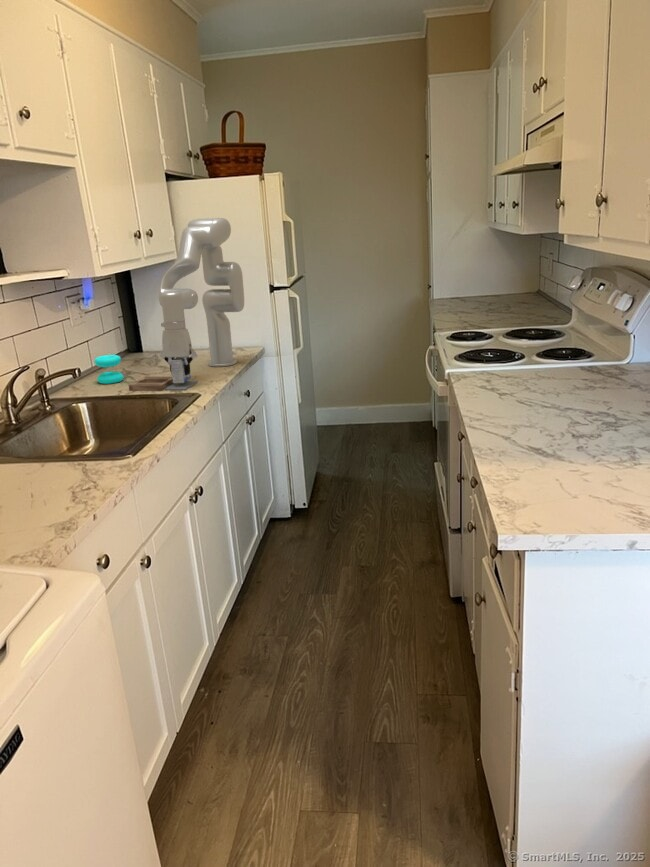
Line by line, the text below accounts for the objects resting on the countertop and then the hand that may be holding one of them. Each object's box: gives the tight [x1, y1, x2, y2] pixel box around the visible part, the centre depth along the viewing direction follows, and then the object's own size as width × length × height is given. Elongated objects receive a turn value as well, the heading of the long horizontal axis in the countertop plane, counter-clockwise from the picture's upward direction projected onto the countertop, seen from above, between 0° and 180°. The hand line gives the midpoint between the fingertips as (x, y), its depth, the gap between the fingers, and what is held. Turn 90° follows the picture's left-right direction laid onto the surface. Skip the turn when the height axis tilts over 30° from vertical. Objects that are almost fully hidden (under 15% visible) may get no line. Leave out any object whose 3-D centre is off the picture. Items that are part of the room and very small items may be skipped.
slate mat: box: [164, 380, 199, 391], centre depth 245 cm, size 12×8×1 cm, turn 168°
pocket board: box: [128, 375, 174, 392], centre depth 247 cm, size 14×13×2 cm
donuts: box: [93, 354, 125, 385], centre depth 256 cm, size 10×10×10 cm
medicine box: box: [170, 357, 192, 383], centre depth 244 cm, size 8×4×9 cm, turn 171°
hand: (180, 373), depth 244 cm, fingers closed on medicine box, 4 cm apart
